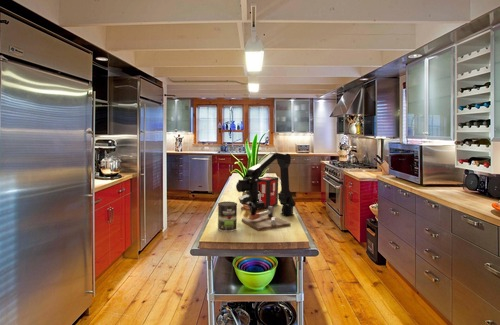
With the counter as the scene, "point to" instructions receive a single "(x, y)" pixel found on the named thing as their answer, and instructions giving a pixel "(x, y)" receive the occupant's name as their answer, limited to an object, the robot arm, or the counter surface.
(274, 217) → the grey brown rectangular block
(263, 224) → the base
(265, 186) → the cleaning product box
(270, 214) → the lever
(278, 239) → the counter surface
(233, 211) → the coffee can
